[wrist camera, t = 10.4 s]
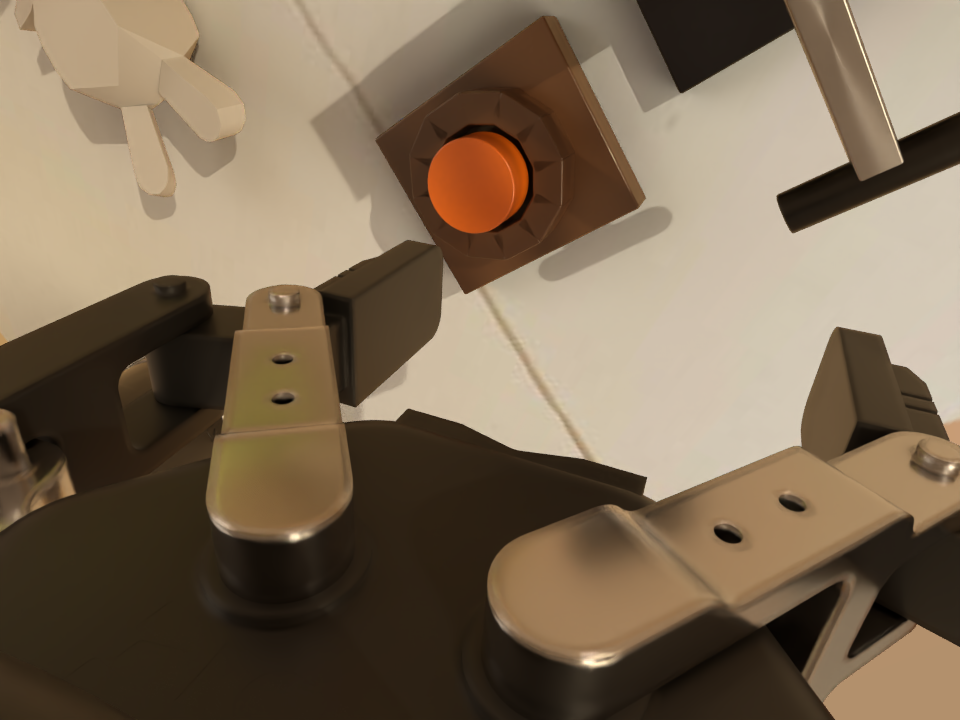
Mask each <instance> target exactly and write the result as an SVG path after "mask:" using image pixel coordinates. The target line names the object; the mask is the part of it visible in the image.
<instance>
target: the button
mask: <svg viewBox="0 0 960 720" xmlns="http://www.w3.org/2000/svg"><path fill="white" fill-rule="evenodd" d="M528 186H529V176H528V170H527V166H526V163H525V160H524V158H523V156H522V154H521V153H520V151H519V150H518V149H517V147H516V146H515V145H514V144H513V143H512V142H511V141H509V140H508V139H507V138H505V137H503V136H501V135H499V134H497V133H493V132H486V131H482V132H475V133H472V134H469V135H466V136H463V137H460V138H457V139H455V140H452V141H450V142H448V143H447V144H445V145H444V146H443V147H441V149H440V150H439V151H438V152H437V153H436V155H435V156H434V158H433V160H432V162H431V165H430V168H429V172H428V191H429V195H430V199H431V201H432V204H433V206H434V208H435V209H436V211H437V213H438V214H439V215H440V216H441V218H442V219H443V220H444V221H445V222H447V223H448V224H449V225H450V226H452V227H454V228H455V229H458V230H460V231H463V232H466V233H484V232H487V231H490V230H492V229H494V228H496V227H497V226H499V225H500V224H502V223H503V222H504V221H506V220H507V219H508V218H510V217H511V216H513V215H514V214H515V213H516V212H517V211H518V210H519V209H520V207H521V206H522V204H523V202H524V200H525V198H526V195H527V192H528Z"/></svg>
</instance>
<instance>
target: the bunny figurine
mask: <svg viewBox="0 0 960 720" xmlns="http://www.w3.org/2000/svg"><path fill="white" fill-rule="evenodd" d="M15 17H16V19H17V22H18V25H19V28H20V30H29V31H37V34H38V36H39V39H40V41H41V44H42V47H43V49H44V51H45V52H46V54H47V56H48V58H49V59H50V61H51V63H52V65H53V67H54V68H55V70H56V71H57V73H58V74H59V75H60V76H61V78H62V79H63V80H64V82H65V83H66V84H67V86H68V87H69V88H70V89H71V90H74V91H77V92H79V93H82V94H84V95H87V96H89V97H92V98H94V99H97V100H99V101H102V102H104V103H107V104H109V105H112V106H114V107H117V108H119V109H121V110H122V115H123V120H124V125H125V130H126V135H127V140H128V145H129V150H130V154H131V159H132V164H133V168H134V173H135V176H136V179H137V181H138V184H139V187H140V188H141V189H143V190H144V191H145V192H147V193H148V194H149V195H156V196H162V197H169V196H172V195H173V193H174V192H175V188H176V180H175V175H174V171H173V168H172V165H171V162H170V160H169V157H168V154H167V151H166V148H165V145H164V143H163V140H162V137H161V134H160V131H159V128H158V125H157V122H156V119H155V116H154V113H153V111H152V109H153V108H155V107H156V106H157V105H159V104H160V103H161V102H162V101H163V100H166V101H167V102H168V103H169V104H170V106H171V107H172V108H173V109H174V110H175V111H176V112H177V113H178V114H179V116H180V117H181V118H182V119H183V120H184V121H185V122H186V123H187V124H188V125H189V127H190V128H191V129H192V130H193V131H194V132H195V133H196V134H197V135H198V137H199V138H201V139H203V140H205V141H207V142H212V141H216V140H219V139H223V138H226V137H230V136H233V135H236V134H237V133H239V132H240V131H241V130H242V127H243V125H244V122H245V120H246V116H245V109H244V103H243V102H242V101H241V99H240V98H239V97H238V95H237V94H236V93H235V91H234V90H232V89H231V88H229V87H228V86H227V85H225V84H224V83H222V82H221V81H219V80H218V79H216V78H215V77H214V76H212V75H211V74H209V73H208V72H206V71H205V70H203V69H202V68H200V67H199V66H197V65H196V64H195V63H193V62H192V61H190V58H191V56H192V53H193V51H194V49H195V46H196V44H197V41H198V39H199V36H200V35H199V32H198V30H197V27H196V25H195V22H194V20H193V17H192V15H191V13H190V12H189V10H188V8H187V7H186V5H185V3H184V1H183V0H17V2H16V8H15Z"/></svg>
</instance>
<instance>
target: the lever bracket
mask: <svg viewBox="0 0 960 720" xmlns="http://www.w3.org/2000/svg"><path fill="white" fill-rule="evenodd" d="M636 1H637V3H638V5H639V7H640V9H641V11H642V14H643V16H644V18H645V20H646V22H647V24H648V26H649V29H650V31H651V33H652V35H653V37H654V39H655V41H656V43H657V46H658V48H659V50H660V52H661V54H662V56H663V58H664V61H665V63H666V65H667V67H668V69H669V71H670V73H671V76H672V78H673V80H674V82H675V84H676V86H677V88H678V91H679V92H680V93H684V92H686V91H687V90H689V89H691V88H692V87H694V86H696V85H698V84H699V83H701V82H703V81H705V80H706V79H708V78H710V77H711V76H713V75H715V74H717V73H718V72H720V71H722V70H724V69H725V68H727V67H729V66H730V65H732V64H734V63H736V62H737V61H739V60H741V59H742V58H744V57H746V56H748V55H749V54H751V53H753V52H755V51H756V50H758V49H760V48H761V47H763V46H765V45H767V44H768V43H770V42H772V41H774V40H775V39H777V38H779V37H780V36H782V35H784V34H786V33H787V32H789V31H791V30H793V29H794V26H793V23H792V21H791V19H790V16H789V14H788V11H787V9H786V7H785V4H784V2H783V0H636Z"/></svg>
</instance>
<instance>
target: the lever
mask: <svg viewBox="0 0 960 720" xmlns="http://www.w3.org/2000/svg"><path fill="white" fill-rule="evenodd" d="M783 2H784V4H785V7H786V9H787V11H788V14H789V16H790V19H791V21H792V23H793V26H794V28H795V31H796V33H797V36H798V38H799V40H800V43H801V45H802V48H803V50H804V53H805V55H806V57H807V60H808V62H809V65H810V67H811V70H812V72H813V74H814V77H815V79H816V82H817V84H818V87H819V89H820V91H821V94H822V96H823V99H824V101H825V104H826V106H827V108H828V111H829V113H830V116H831V118H832V121H833V123H834V125H835V128H836V130H837V133H838V135H839V138H840V140H841V142H842V145H843V147H844V150H845V152H846V155H847V157H848V159H849V162H848V163H846V164H844V165H842V166H839V167H837V168H835V169H833V170H831V171H828V172H826V173H824V174H822V175H820V176H817V177H815V178H813V179H811V180H809V181H806V182H804V183H802V184H800V185H798V186H795V187H793V188H791V189H789V190H787V191H784V192H782V193H780V194H778V195H777V202H778V205H779V208H780V211H781V213H782V215H783V218H784V220H785V222H786V224H787V226H788V228H789V230H790V231H791V232H792V233H796V232H798V231H800V230H803V229H805V228H808V227H810V226H812V225H815V224H817V223H820V222H822V221H824V220H827V219H829V218H831V217H834V216H836V215H839V214H841V213H843V212H846V211H848V210H851V209H853V208H855V207H858V206H860V205H863V204H865V203H867V202H870V201H872V200H874V199H877V198H879V197H882V196H884V195H886V194H889V193H891V192H894V191H896V190H898V189H901V188H903V187H906V186H908V185H910V184H913V183H915V182H917V181H920V180H922V179H925V178H927V177H929V176H932V175H934V174H937V173H939V172H941V171H944V170H946V169H949V168H951V167H953V166H956V165H958V164H960V112H958V113H956V114H954V115H952V116H949V117H947V118H945V119H943V120H941V121H938V122H936V123H934V124H932V125H930V126H927V127H925V128H923V129H921V130H919V131H916V132H914V133H912V134H910V135H908V136H905V137H903V138H901V139H899V140H897V137H896V134H895V131H894V128H893V126H892V123H891V120H890V117H889V114H888V112H887V109H886V106H885V103H884V100H883V97H882V95H881V92H880V89H879V86H878V83H877V81H876V78H875V75H874V72H873V69H872V67H871V64H870V61H869V58H868V55H867V53H866V50H865V47H864V44H863V41H862V39H861V36H860V33H859V30H858V27H857V25H856V22H855V19H854V16H853V13H852V11H851V8H850V5H849V2H848V0H783Z"/></svg>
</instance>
